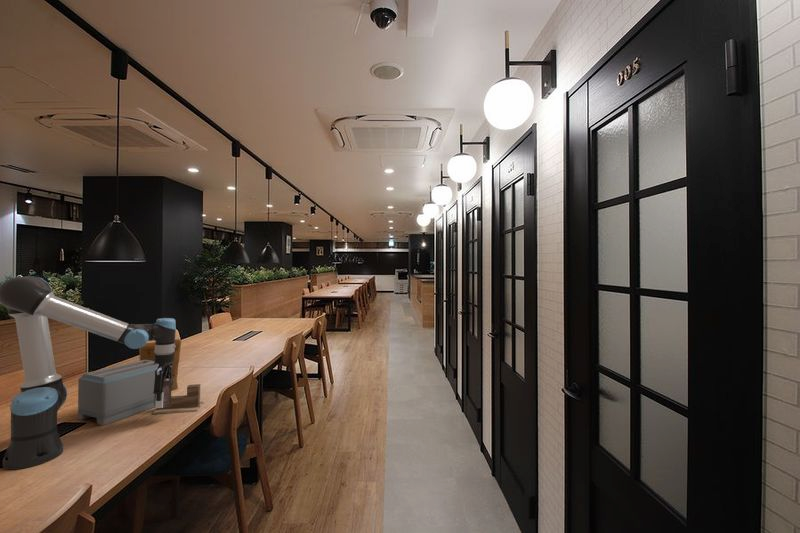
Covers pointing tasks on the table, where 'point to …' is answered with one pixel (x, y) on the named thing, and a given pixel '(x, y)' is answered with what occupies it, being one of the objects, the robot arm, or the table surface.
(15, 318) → the robot arm
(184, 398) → the wooden u-shaped block
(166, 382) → the box
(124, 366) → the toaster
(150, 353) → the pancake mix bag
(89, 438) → the table surface
